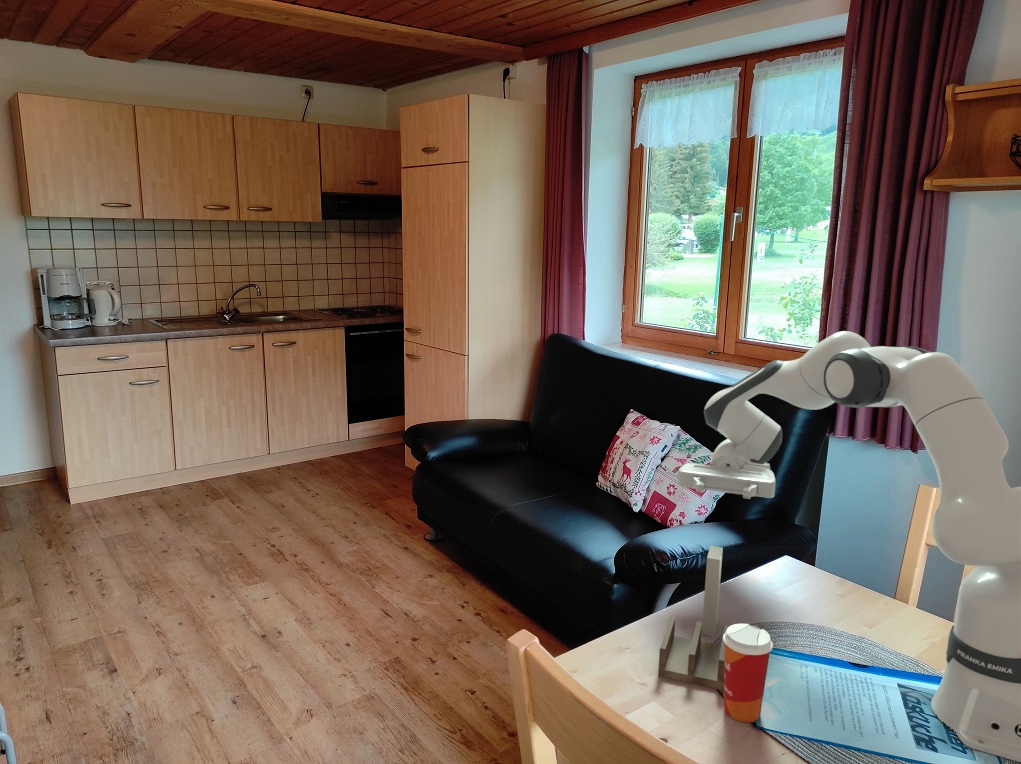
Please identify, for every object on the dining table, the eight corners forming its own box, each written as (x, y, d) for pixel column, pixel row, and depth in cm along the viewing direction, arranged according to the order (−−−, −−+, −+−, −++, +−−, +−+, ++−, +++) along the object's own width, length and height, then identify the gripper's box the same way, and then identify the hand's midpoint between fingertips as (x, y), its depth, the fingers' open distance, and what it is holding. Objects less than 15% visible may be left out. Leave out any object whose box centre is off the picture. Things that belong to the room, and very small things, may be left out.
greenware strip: (717, 621, 151) (722, 547, 148) (714, 636, 146) (720, 559, 142) (705, 619, 152) (710, 545, 149) (701, 634, 146) (707, 557, 143)
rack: (756, 659, 138) (758, 632, 137) (753, 696, 127) (755, 667, 126) (668, 642, 144) (670, 615, 142) (658, 676, 132) (659, 648, 131)
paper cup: (729, 691, 128) (735, 616, 125) (773, 710, 124) (780, 632, 121) (709, 713, 122) (715, 635, 120) (755, 734, 118) (762, 653, 115)
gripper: (682, 452, 171) (673, 471, 158) (777, 463, 164) (775, 483, 151) (680, 479, 172) (671, 499, 159) (774, 491, 165) (773, 513, 152)
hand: (722, 492), depth 155 cm, fingers open, 8 cm apart
